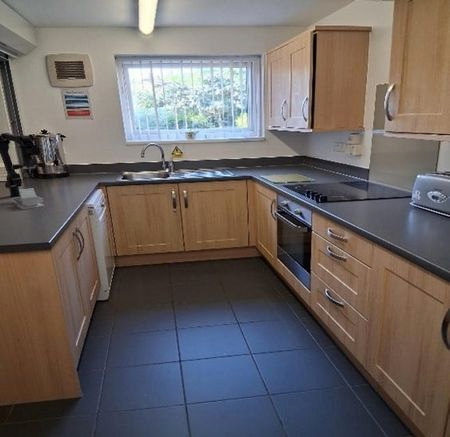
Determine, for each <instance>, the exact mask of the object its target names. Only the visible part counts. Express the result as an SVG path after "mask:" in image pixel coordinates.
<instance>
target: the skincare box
mask: <svg viewBox="0 0 450 437" xmlns="http://www.w3.org/2000/svg"><path fill="white" fill-rule="evenodd" d="M19 193H20V196H19V198H20V199H21V202H22V205H23V207H27V206H36V205H38V201H37V197H36V196H37V194H36V192H35V189H34V188H33V187H32V188H22V189H21V188H19Z"/></svg>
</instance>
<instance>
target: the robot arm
mask: <svg viewBox="0 0 450 437" xmlns="http://www.w3.org/2000/svg"><path fill="white" fill-rule="evenodd" d="M11 141H12V142H15V143H16V144H17V145H19V146H18V149H20V153H21V159H22V164H21V165H20V164H19V163H17V164H16V163H15V164H13V162H12V158H11V156H10V154H9V150H10V144H11ZM40 153H41V149H40V148H39V147H38V146H37V144H35V142H34V141H33V140H32V138H31V137H30V136H29V135H17V134H12V133H8V132H4V133H3V132H2V133H0V156H1V157H0V158H1V160H2V162H3V165H4V168H5V170H6V173H7V174H6V178H5V179H6V182H5V184H4V186H5V189H9V198H11V197H13V198H15V197H20V193H19V189H20V187H22V183H23V182H22V181H23V180H22V177H21V175H20V173H17V172H16V170H20V169H22V170H23V171H24V172H26V174H27V177H28V178H29V180H32V179H33V174H34V170H35V169H36V167H39V168H45V166H46V164H45V163H44V162H43V161H41V162H40V161H39V162H38V160H37V159H36V158H33V156H39V155H40Z"/></svg>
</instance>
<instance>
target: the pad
mask: <svg viewBox="0 0 450 437" xmlns="http://www.w3.org/2000/svg"><path fill="white" fill-rule="evenodd" d="M45 206H46V205H45V204H43V203H38V205H36V206H27V207H23V205H19V206H18V205H17V207H18V208H19V209H22V210H28V209H35V208H40V207H45Z"/></svg>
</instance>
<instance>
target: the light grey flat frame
mask: <svg viewBox="0 0 450 437" xmlns="http://www.w3.org/2000/svg"><path fill="white" fill-rule="evenodd" d="M36 197H37V201H38V203H41V204H43V203H44V198H42V197H41V196H38V195H36ZM12 203H13V204H14V205H16V206H17V207H18V206H19V205H22V202H21V199H20V197H18V198H12Z"/></svg>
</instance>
